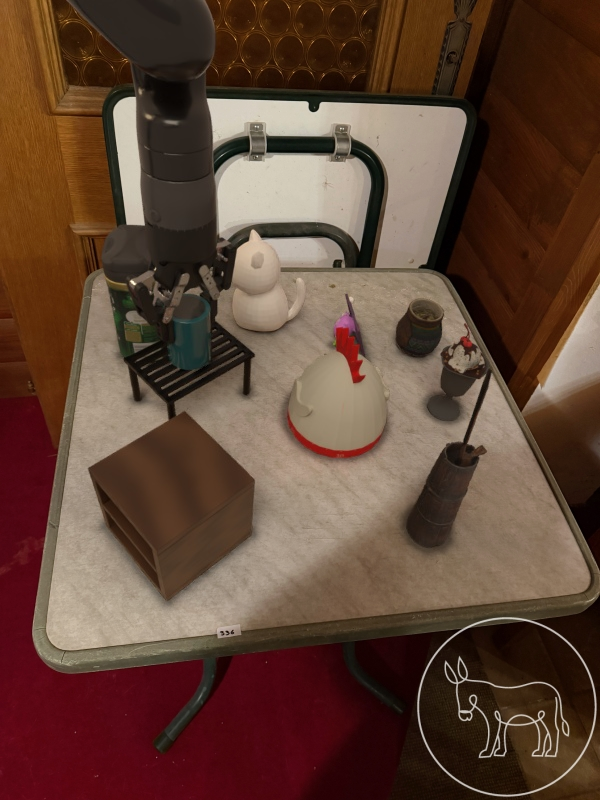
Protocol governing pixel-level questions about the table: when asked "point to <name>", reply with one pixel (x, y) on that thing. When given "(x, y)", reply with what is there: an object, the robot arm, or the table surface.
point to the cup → (191, 333)
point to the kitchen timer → (339, 402)
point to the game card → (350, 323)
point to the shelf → (175, 502)
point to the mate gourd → (420, 327)
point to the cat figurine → (261, 288)
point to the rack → (164, 393)
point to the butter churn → (446, 485)
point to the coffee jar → (120, 260)
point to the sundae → (457, 376)
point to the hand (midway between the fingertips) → (188, 329)
